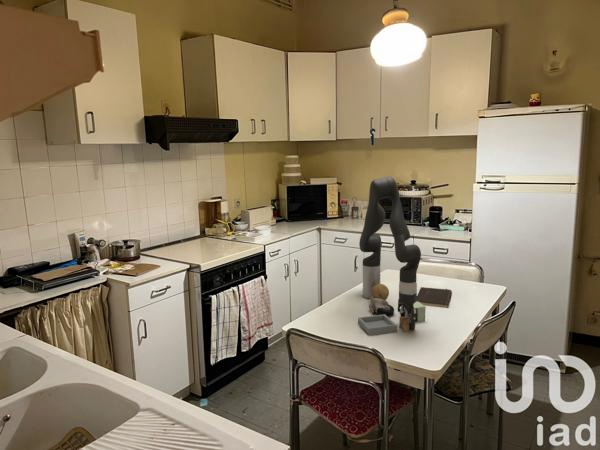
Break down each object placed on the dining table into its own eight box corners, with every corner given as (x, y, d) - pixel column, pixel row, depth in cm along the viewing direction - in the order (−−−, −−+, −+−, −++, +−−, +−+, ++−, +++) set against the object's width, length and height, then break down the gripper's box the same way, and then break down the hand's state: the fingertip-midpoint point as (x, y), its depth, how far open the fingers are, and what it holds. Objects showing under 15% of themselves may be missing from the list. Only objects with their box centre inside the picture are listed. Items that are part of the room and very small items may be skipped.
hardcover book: (414, 305, 228) (414, 301, 227) (420, 291, 248) (420, 287, 248) (448, 309, 222) (448, 304, 221) (451, 293, 242) (451, 289, 242)
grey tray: (357, 323, 206) (357, 317, 205) (384, 320, 208) (384, 314, 208) (368, 335, 193) (368, 328, 193) (397, 331, 196) (397, 325, 195)
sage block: (404, 317, 212) (404, 303, 210) (417, 315, 213) (418, 301, 212) (410, 323, 205) (411, 308, 204) (425, 321, 206) (425, 306, 205)
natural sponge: (380, 307, 224) (380, 288, 222) (366, 303, 231) (366, 284, 229) (392, 303, 230) (392, 284, 228) (378, 298, 237) (378, 280, 235)
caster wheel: (394, 321, 214) (374, 320, 212) (386, 308, 224) (367, 307, 222) (398, 308, 212) (378, 308, 209) (389, 296, 222) (370, 295, 220)
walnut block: (399, 327, 200) (399, 316, 200) (409, 326, 202) (410, 315, 201) (404, 332, 196) (404, 321, 195) (415, 330, 197) (415, 319, 196)
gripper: (392, 286, 201) (392, 321, 204) (407, 297, 188) (406, 334, 191) (408, 285, 203) (407, 319, 206) (423, 295, 189) (423, 331, 192)
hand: (407, 326), depth 198 cm, fingers open, 8 cm apart
